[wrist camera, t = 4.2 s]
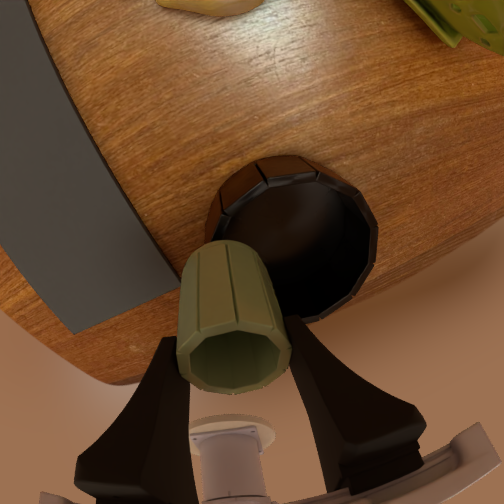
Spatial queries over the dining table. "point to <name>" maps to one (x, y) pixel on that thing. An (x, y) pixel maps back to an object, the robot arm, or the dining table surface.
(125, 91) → the dining table surface
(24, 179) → the mat
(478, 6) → the flower pot
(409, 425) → the robot arm
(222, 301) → the small pot
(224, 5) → the fruit
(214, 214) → the large pot
